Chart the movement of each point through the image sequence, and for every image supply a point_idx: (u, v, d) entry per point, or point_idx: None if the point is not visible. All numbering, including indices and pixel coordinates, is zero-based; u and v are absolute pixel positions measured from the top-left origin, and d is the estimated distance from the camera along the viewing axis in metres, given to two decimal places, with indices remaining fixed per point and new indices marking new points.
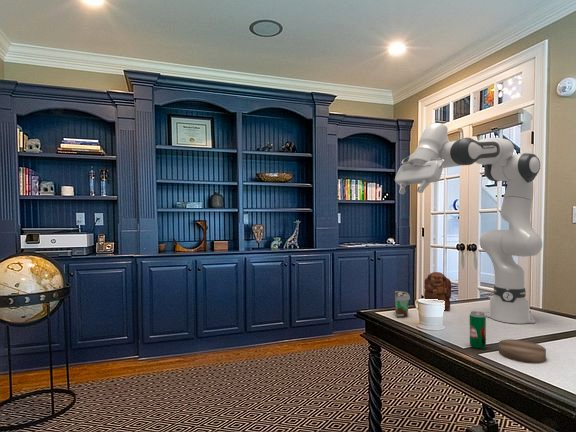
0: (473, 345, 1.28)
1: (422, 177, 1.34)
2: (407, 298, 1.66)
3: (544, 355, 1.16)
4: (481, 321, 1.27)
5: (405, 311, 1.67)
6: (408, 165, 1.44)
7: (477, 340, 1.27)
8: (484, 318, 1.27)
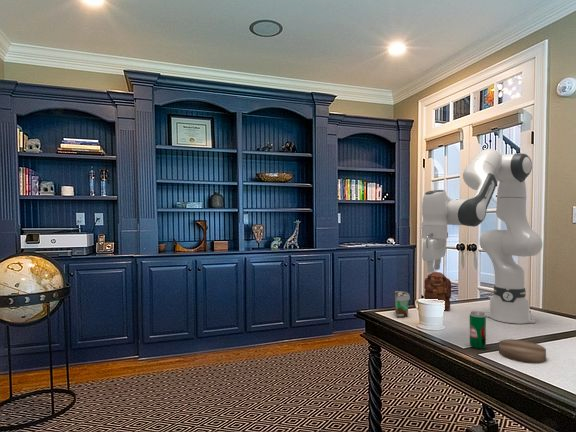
0: (473, 345, 1.28)
1: None
2: (407, 298, 1.66)
3: (544, 355, 1.16)
4: (481, 321, 1.27)
5: (405, 311, 1.67)
6: None
7: (477, 340, 1.27)
8: (484, 318, 1.27)
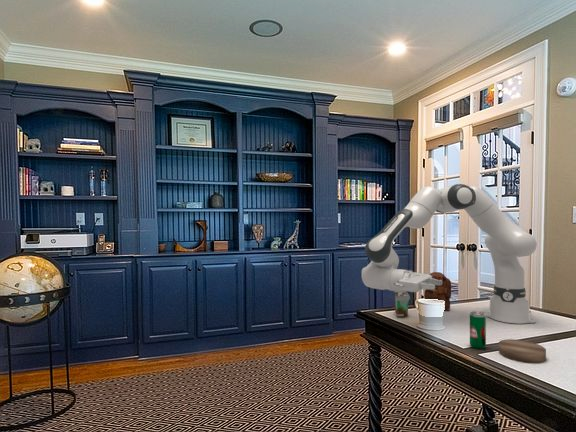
0: (473, 345, 1.28)
1: (419, 290, 1.36)
2: (407, 298, 1.66)
3: (544, 355, 1.16)
4: (481, 321, 1.27)
5: (405, 311, 1.67)
6: None
7: (477, 340, 1.27)
8: (484, 318, 1.27)
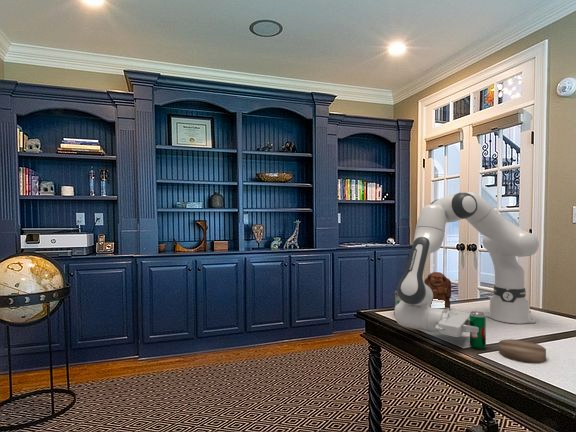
0: (473, 345, 1.28)
1: None
2: None
3: (544, 355, 1.16)
4: (481, 320, 1.27)
5: None
6: None
7: (477, 340, 1.27)
8: (484, 318, 1.27)
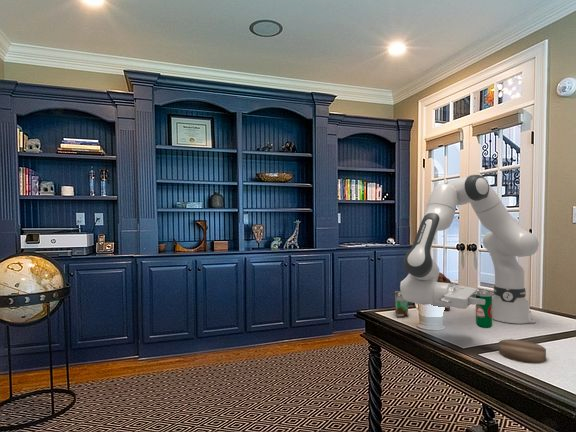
0: (480, 324, 1.27)
1: (467, 306, 1.26)
2: None
3: (544, 355, 1.16)
4: (488, 300, 1.26)
5: (405, 311, 1.67)
6: None
7: (484, 319, 1.26)
8: (491, 297, 1.26)
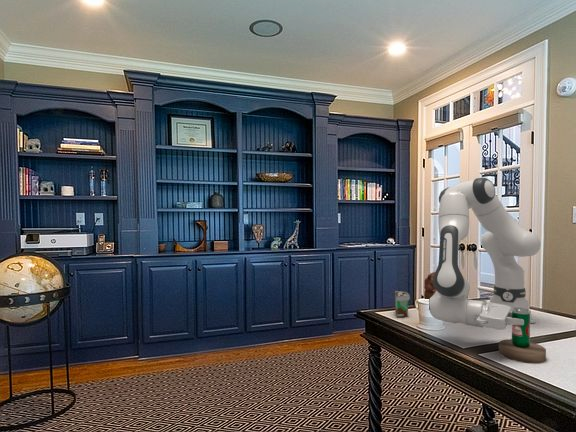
0: (517, 343, 1.21)
1: None
2: (407, 298, 1.66)
3: (544, 355, 1.16)
4: (526, 318, 1.19)
5: (405, 311, 1.67)
6: None
7: (522, 338, 1.20)
8: (529, 315, 1.20)
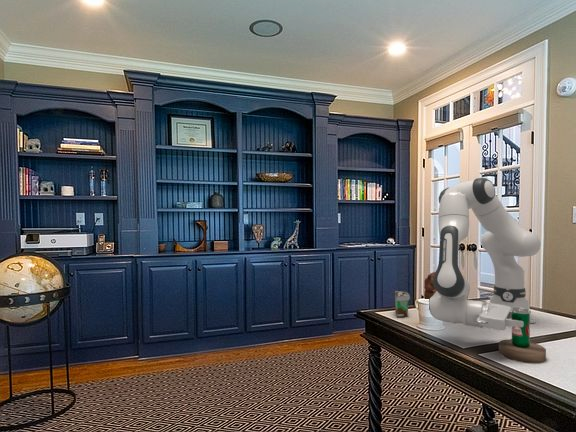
0: (517, 343, 1.21)
1: None
2: (407, 298, 1.66)
3: (544, 355, 1.16)
4: (525, 317, 1.20)
5: (405, 311, 1.67)
6: None
7: (522, 338, 1.20)
8: (528, 315, 1.20)
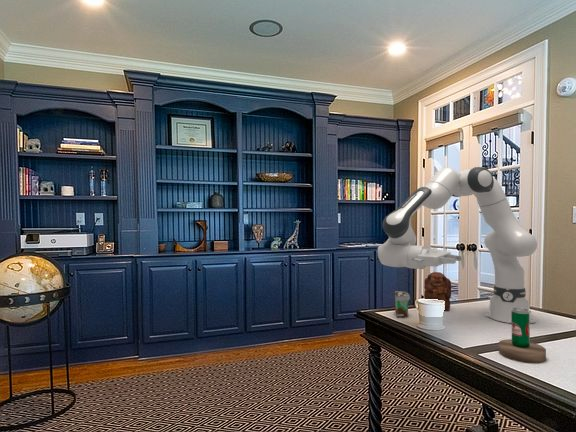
0: (517, 343, 1.21)
1: None
2: (407, 298, 1.66)
3: (544, 355, 1.16)
4: (525, 317, 1.20)
5: (405, 311, 1.67)
6: None
7: (522, 338, 1.20)
8: (528, 315, 1.20)
